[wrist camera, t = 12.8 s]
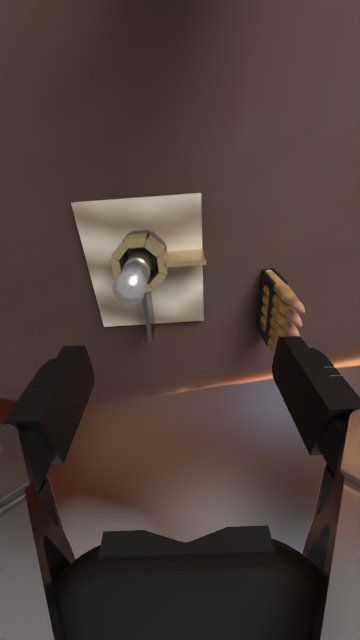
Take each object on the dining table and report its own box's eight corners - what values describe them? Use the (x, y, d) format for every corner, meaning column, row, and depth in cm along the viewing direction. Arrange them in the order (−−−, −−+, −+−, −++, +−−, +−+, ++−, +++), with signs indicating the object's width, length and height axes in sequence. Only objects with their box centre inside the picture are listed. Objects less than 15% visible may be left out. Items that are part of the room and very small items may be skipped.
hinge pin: (130, 244, 32) (109, 276, 22) (152, 243, 32) (142, 274, 22) (134, 266, 34) (116, 305, 24) (155, 265, 34) (146, 303, 24)
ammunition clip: (261, 268, 36) (296, 305, 26) (274, 267, 36) (314, 304, 26) (256, 329, 41) (283, 379, 31) (267, 328, 41) (298, 378, 31)
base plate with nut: (75, 201, 31) (53, 207, 25) (200, 192, 31) (205, 195, 25) (106, 322, 40) (94, 345, 35) (202, 315, 40) (207, 338, 34)
